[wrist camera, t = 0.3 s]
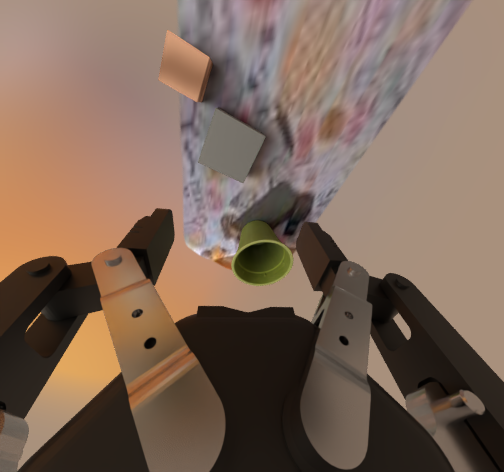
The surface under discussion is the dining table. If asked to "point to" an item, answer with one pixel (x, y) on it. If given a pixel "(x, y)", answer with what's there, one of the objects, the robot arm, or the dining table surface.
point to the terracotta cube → (184, 67)
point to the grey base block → (230, 146)
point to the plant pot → (261, 256)
